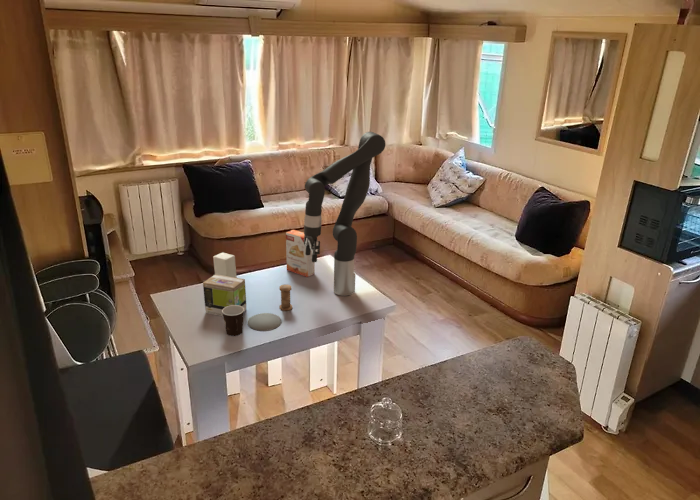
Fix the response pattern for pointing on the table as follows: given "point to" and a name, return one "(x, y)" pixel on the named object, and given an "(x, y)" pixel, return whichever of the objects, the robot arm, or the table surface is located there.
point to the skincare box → (225, 265)
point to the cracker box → (298, 254)
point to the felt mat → (264, 321)
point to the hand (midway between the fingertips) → (311, 258)
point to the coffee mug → (233, 319)
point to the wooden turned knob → (285, 297)
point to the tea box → (223, 293)
